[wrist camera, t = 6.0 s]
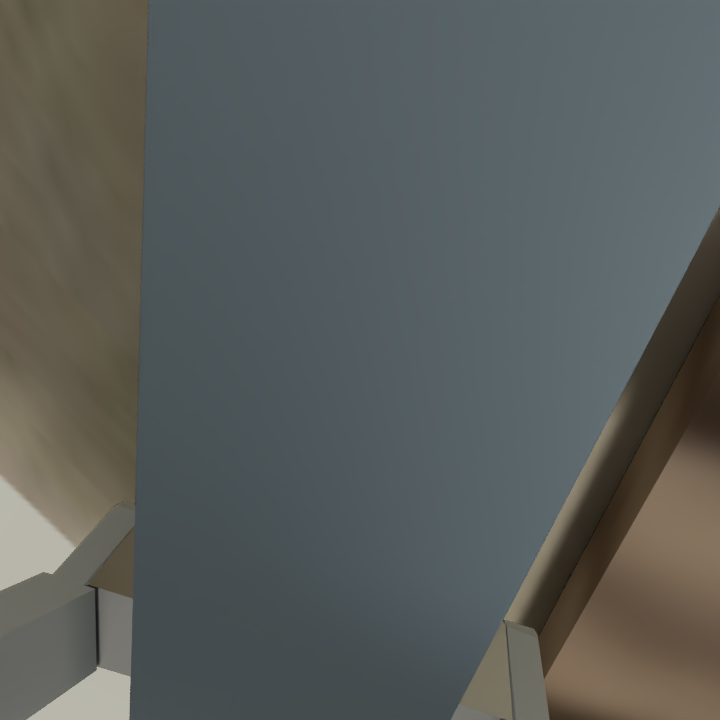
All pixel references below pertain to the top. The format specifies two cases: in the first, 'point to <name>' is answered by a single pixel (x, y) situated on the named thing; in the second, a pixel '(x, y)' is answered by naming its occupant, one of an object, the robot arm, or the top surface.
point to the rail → (389, 324)
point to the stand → (650, 572)
